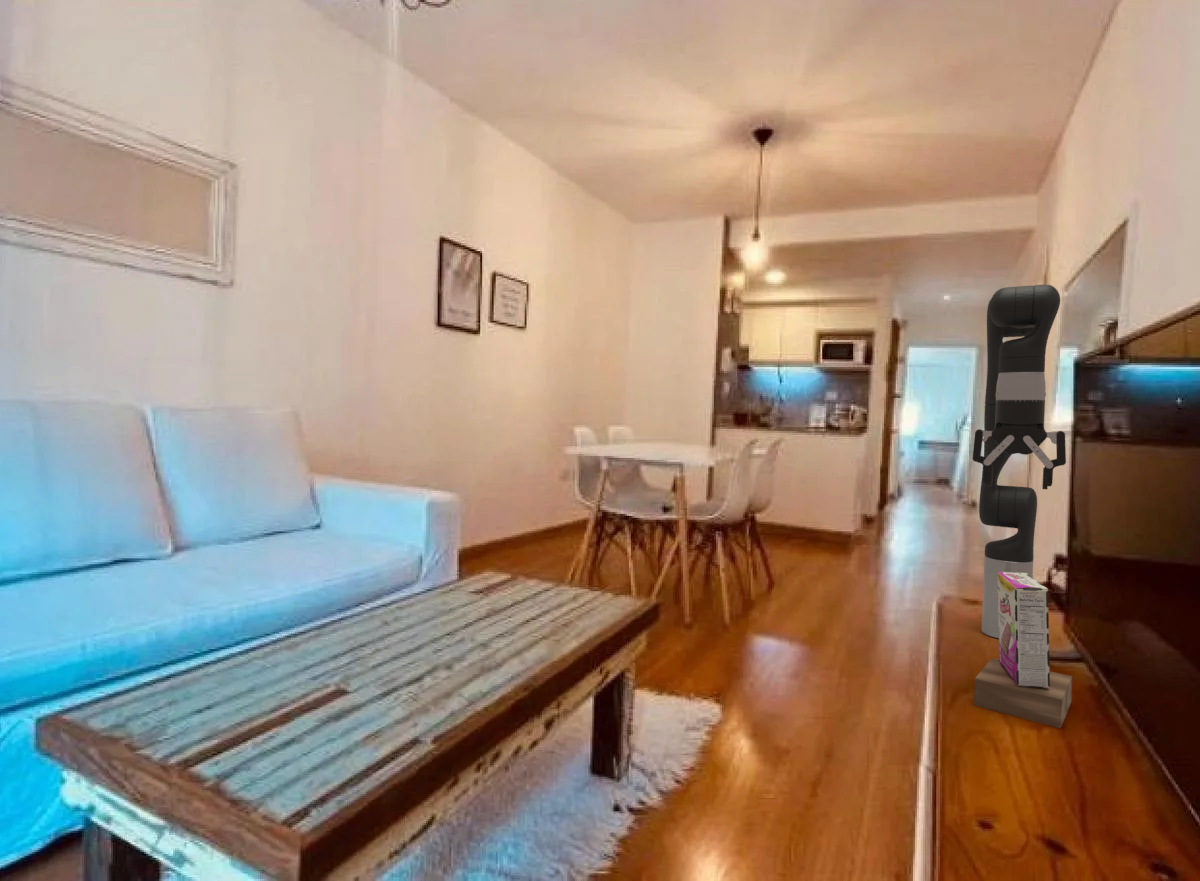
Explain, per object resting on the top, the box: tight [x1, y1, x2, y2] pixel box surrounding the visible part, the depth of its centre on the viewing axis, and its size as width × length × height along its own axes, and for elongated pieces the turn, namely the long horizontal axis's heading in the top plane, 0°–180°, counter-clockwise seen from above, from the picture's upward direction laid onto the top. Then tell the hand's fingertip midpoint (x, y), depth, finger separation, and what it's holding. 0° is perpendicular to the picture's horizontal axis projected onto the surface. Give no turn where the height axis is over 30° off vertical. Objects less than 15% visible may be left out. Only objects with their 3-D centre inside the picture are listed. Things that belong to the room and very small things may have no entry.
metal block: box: [973, 657, 1073, 729], centre depth 112 cm, size 13×12×5 cm
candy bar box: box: [997, 572, 1051, 688], centre depth 112 cm, size 11×5×16 cm, turn 163°
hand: (1016, 487), depth 121 cm, fingers open, 8 cm apart
